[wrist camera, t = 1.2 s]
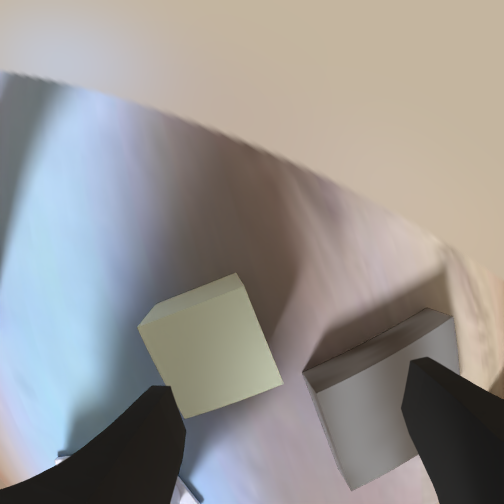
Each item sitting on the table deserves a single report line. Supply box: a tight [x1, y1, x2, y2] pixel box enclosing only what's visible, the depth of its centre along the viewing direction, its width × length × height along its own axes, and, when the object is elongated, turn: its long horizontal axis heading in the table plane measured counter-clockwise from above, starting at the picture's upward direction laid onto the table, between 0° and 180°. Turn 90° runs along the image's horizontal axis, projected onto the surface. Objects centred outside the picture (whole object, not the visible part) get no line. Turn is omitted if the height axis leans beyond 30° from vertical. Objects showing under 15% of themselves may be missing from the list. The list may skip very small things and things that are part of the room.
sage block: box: [137, 273, 284, 419], centre depth 16 cm, size 5×5×5 cm
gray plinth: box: [302, 308, 460, 491], centre depth 18 cm, size 10×10×3 cm
